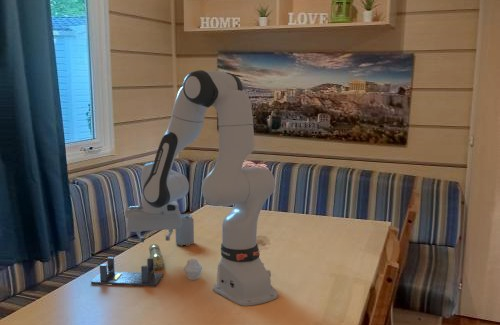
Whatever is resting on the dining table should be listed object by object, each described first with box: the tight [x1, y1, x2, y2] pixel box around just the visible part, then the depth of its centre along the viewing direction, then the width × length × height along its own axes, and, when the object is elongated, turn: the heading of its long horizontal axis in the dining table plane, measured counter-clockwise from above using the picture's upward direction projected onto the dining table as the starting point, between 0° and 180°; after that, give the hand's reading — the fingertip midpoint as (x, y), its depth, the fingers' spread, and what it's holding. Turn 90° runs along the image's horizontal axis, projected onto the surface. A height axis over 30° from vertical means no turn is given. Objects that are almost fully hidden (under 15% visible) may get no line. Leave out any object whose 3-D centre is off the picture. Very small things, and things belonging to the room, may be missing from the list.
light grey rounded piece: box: [183, 258, 203, 281], centre depth 170 cm, size 6×6×7 cm
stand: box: [90, 256, 164, 288], centre depth 168 cm, size 22×9×6 cm, turn 85°
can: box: [174, 213, 195, 246], centre depth 205 cm, size 8×8×12 cm
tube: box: [148, 243, 165, 271], centre depth 185 cm, size 18×4×4 cm, turn 15°
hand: (154, 241), depth 185 cm, fingers open, 8 cm apart
